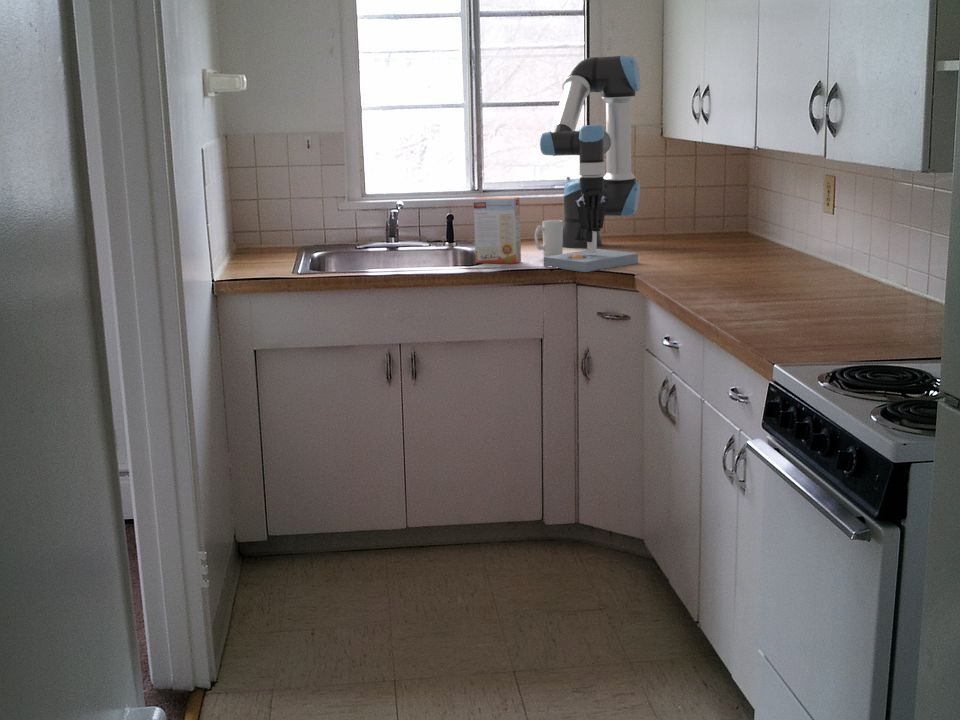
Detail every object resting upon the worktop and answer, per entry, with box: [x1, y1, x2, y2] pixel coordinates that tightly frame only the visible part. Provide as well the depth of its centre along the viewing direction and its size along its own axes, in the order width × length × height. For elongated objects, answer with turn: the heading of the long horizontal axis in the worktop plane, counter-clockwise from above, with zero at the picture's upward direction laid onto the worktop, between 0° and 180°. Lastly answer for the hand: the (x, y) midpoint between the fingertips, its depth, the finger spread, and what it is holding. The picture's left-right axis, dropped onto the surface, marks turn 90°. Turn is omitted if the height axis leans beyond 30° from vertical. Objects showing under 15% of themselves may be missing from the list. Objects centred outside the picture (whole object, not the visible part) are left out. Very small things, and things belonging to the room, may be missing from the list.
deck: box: [543, 248, 639, 273], centre depth 328 cm, size 24×18×3 cm
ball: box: [571, 254, 583, 259], centre depth 325 cm, size 4×4×4 cm
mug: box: [534, 219, 564, 258], centre depth 345 cm, size 10×7×12 cm, turn 113°
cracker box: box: [473, 196, 522, 265], centre depth 336 cm, size 14×6×21 cm, turn 72°
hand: (592, 252), depth 328 cm, fingers closed
